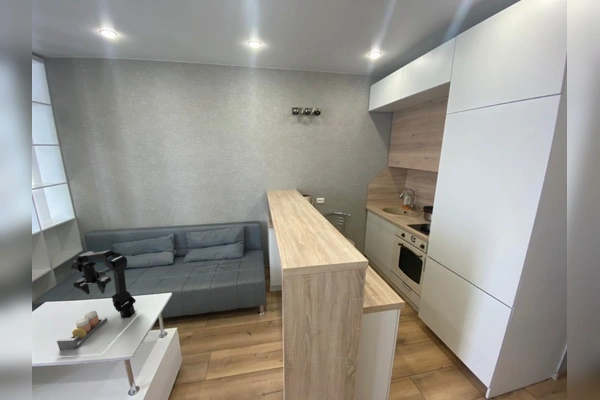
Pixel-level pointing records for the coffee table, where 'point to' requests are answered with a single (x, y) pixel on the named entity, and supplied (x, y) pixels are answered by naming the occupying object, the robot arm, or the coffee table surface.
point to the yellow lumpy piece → (79, 333)
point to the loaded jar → (84, 324)
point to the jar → (93, 319)
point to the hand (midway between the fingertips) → (96, 293)
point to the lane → (75, 343)
